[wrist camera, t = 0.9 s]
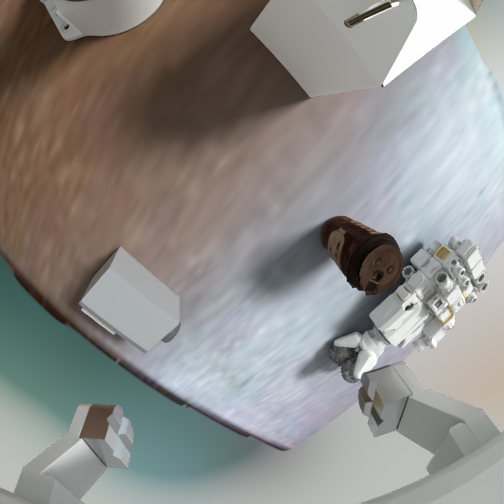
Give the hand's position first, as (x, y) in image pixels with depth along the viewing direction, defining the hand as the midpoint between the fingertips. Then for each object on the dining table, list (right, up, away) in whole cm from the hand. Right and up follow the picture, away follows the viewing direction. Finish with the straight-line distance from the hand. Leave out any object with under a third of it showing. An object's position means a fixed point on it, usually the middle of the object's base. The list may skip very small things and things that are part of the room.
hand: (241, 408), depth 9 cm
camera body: (-17, 0, +35) cm, 39 cm away
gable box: (+12, +38, +25) cm, 47 cm away
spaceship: (+29, -5, +47) cm, 56 cm away
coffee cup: (+14, +8, +38) cm, 41 cm away
